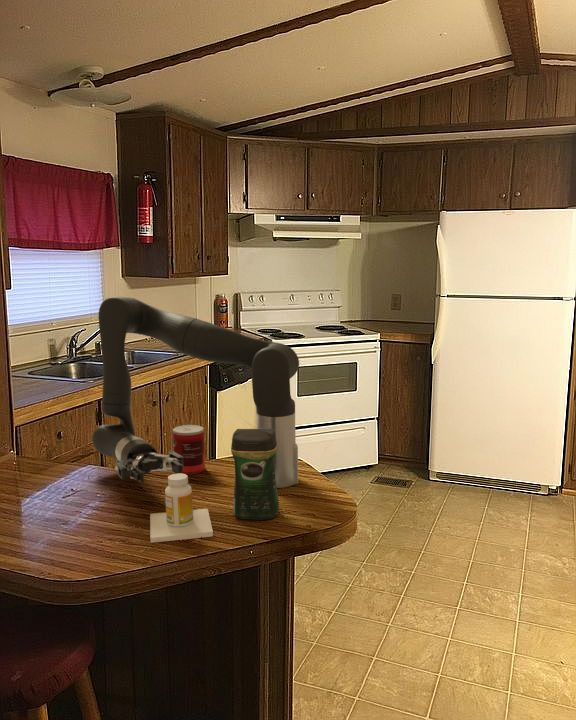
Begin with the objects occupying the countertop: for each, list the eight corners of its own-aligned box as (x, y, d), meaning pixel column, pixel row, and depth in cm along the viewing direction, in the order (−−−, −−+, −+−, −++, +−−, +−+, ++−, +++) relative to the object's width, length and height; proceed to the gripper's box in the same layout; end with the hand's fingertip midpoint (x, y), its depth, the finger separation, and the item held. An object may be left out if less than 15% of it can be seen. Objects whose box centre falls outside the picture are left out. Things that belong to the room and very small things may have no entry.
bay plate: (207, 512, 141) (207, 508, 141) (213, 536, 129) (212, 531, 129) (150, 518, 139) (150, 513, 138) (150, 542, 127) (150, 537, 127)
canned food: (187, 463, 174) (185, 423, 172) (211, 468, 170) (210, 427, 168) (168, 472, 167) (166, 430, 166) (192, 477, 163) (191, 434, 161)
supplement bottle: (196, 517, 136) (194, 472, 135) (189, 528, 131) (187, 481, 129) (170, 516, 137) (168, 471, 135) (163, 527, 131) (160, 480, 130)
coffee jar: (280, 507, 143) (279, 424, 140) (276, 522, 136) (275, 434, 133) (236, 506, 144) (234, 424, 141) (230, 521, 137) (227, 434, 134)
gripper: (104, 444, 150) (127, 463, 136) (163, 434, 157) (191, 451, 144) (106, 475, 151) (129, 497, 138) (165, 464, 159) (192, 484, 145)
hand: (161, 473), depth 141 cm, fingers open, 8 cm apart
